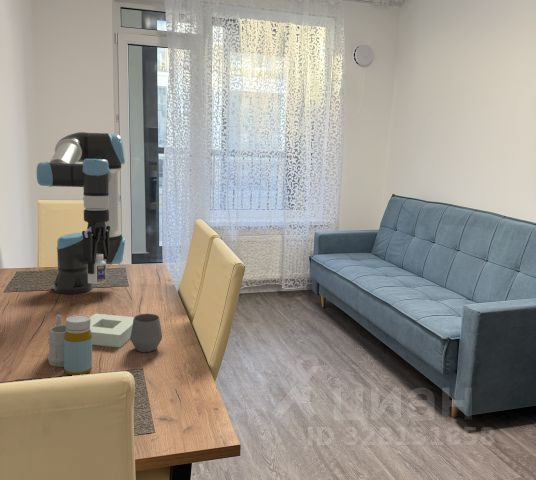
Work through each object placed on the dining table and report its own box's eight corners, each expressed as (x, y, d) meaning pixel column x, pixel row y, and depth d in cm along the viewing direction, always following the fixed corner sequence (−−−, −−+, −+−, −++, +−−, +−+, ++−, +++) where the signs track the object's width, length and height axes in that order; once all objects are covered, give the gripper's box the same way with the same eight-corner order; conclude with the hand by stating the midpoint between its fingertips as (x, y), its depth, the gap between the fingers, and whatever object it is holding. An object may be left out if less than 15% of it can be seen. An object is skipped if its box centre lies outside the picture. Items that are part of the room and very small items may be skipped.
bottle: (67, 365, 139) (67, 314, 136) (93, 365, 140) (94, 314, 137) (61, 376, 132) (61, 323, 130) (89, 376, 133) (89, 323, 131)
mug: (49, 369, 136) (48, 327, 134) (44, 353, 146) (43, 314, 144) (79, 364, 140) (78, 324, 138) (72, 349, 150) (71, 310, 148)
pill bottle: (99, 284, 157) (99, 256, 155) (84, 282, 158) (84, 255, 156) (108, 280, 162) (108, 253, 160) (94, 279, 163) (93, 252, 162)
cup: (146, 357, 147) (146, 325, 145) (123, 349, 151) (123, 318, 150) (168, 347, 155) (168, 317, 153) (146, 340, 159) (146, 310, 158)
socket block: (95, 324, 171) (95, 313, 170) (140, 329, 169) (140, 317, 168) (71, 342, 155) (70, 329, 154) (120, 347, 153) (120, 335, 152)
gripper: (99, 205, 166) (100, 273, 169) (69, 211, 148) (70, 287, 152) (120, 206, 164) (121, 275, 168) (92, 212, 147) (93, 289, 150)
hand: (97, 280), depth 160 cm, fingers closed on pill bottle, 5 cm apart
